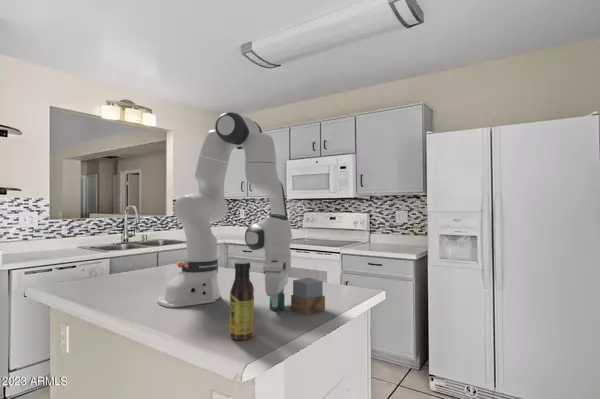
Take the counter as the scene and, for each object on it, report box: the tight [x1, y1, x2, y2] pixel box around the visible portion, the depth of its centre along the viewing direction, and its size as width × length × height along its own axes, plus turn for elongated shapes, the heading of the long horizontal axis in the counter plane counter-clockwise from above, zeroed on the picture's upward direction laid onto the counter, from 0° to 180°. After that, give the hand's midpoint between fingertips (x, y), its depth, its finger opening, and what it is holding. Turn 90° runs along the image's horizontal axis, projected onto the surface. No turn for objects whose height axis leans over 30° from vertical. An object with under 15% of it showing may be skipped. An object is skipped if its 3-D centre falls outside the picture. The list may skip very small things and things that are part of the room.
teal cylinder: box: [269, 293, 285, 312], centre depth 120 cm, size 5×5×5 cm
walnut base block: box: [290, 294, 326, 316], centre depth 119 cm, size 8×8×5 cm
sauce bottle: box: [229, 260, 255, 341], centre depth 94 cm, size 7×6×20 cm
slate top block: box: [292, 277, 324, 299], centre depth 119 cm, size 7×7×5 cm
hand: (277, 303), depth 120 cm, fingers open, 7 cm apart
